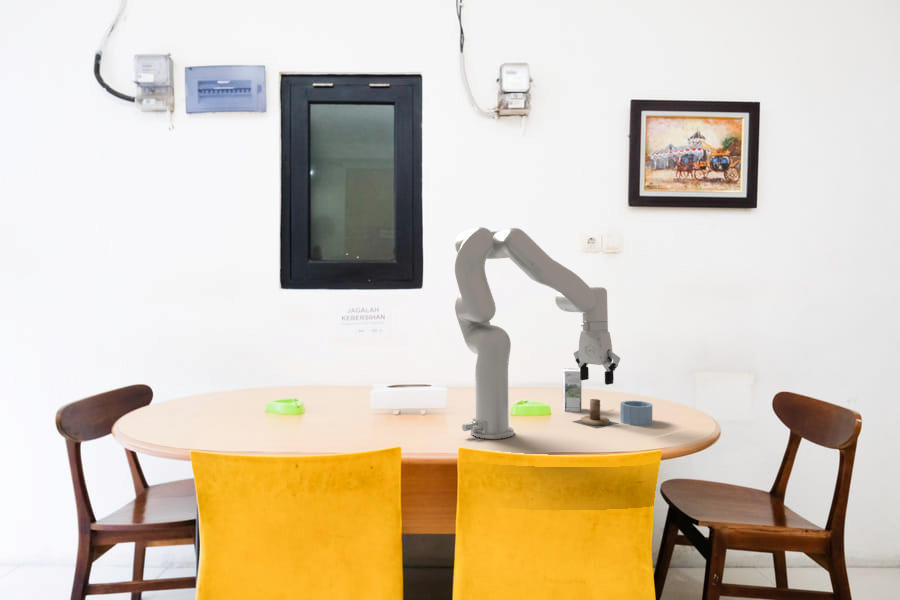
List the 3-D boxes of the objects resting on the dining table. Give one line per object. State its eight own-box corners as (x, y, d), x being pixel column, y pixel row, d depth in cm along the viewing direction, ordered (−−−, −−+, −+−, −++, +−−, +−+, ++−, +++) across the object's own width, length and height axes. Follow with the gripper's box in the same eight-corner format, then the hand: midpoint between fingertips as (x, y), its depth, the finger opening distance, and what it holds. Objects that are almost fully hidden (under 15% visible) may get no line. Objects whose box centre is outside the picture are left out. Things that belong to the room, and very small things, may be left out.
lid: (596, 427, 159) (596, 404, 159) (575, 421, 166) (575, 399, 166) (615, 423, 164) (615, 400, 164) (593, 417, 171) (593, 396, 171)
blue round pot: (639, 428, 159) (639, 408, 159) (614, 422, 167) (614, 403, 166) (658, 423, 164) (658, 404, 164) (633, 417, 172) (633, 399, 172)
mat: (597, 429, 158) (597, 428, 158) (571, 422, 166) (571, 421, 166) (618, 424, 164) (618, 423, 164) (593, 418, 172) (593, 416, 172)
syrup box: (579, 409, 185) (579, 367, 184) (581, 413, 179) (581, 370, 179) (562, 408, 185) (562, 367, 185) (564, 412, 179) (564, 370, 179)
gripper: (566, 326, 169) (567, 379, 170) (610, 329, 155) (611, 387, 156) (582, 325, 174) (583, 376, 174) (626, 327, 159) (627, 384, 160)
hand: (596, 381), depth 165 cm, fingers open, 9 cm apart
